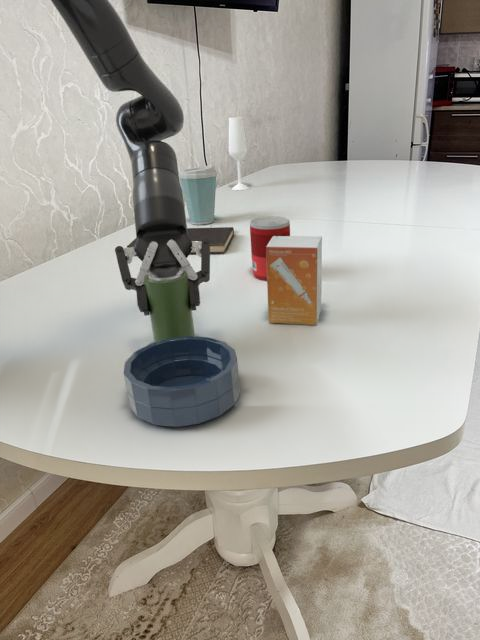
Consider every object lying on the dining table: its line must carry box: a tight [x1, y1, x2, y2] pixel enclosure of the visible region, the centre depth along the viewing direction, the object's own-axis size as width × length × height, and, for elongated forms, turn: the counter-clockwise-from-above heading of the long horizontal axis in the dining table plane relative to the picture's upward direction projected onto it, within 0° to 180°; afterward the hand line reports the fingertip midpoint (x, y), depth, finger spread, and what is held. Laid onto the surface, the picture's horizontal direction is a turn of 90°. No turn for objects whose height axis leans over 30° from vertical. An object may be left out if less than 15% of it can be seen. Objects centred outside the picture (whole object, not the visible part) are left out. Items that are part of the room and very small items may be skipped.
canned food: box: [249, 216, 291, 282], centre depth 104 cm, size 8×8×11 cm
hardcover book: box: [126, 226, 235, 257], centre depth 129 cm, size 16×23×2 cm
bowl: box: [123, 335, 241, 428], centre depth 65 cm, size 14×14×6 cm
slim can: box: [144, 266, 196, 343], centre depth 76 cm, size 6×6×10 cm
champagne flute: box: [228, 116, 250, 191], centre depth 187 cm, size 7×7×24 cm
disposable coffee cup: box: [178, 165, 218, 226], centre depth 146 cm, size 11×11×15 cm
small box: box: [266, 235, 323, 326], centre depth 84 cm, size 8×6×13 cm
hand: (170, 310), depth 74 cm, fingers closed on slim can, 6 cm apart
